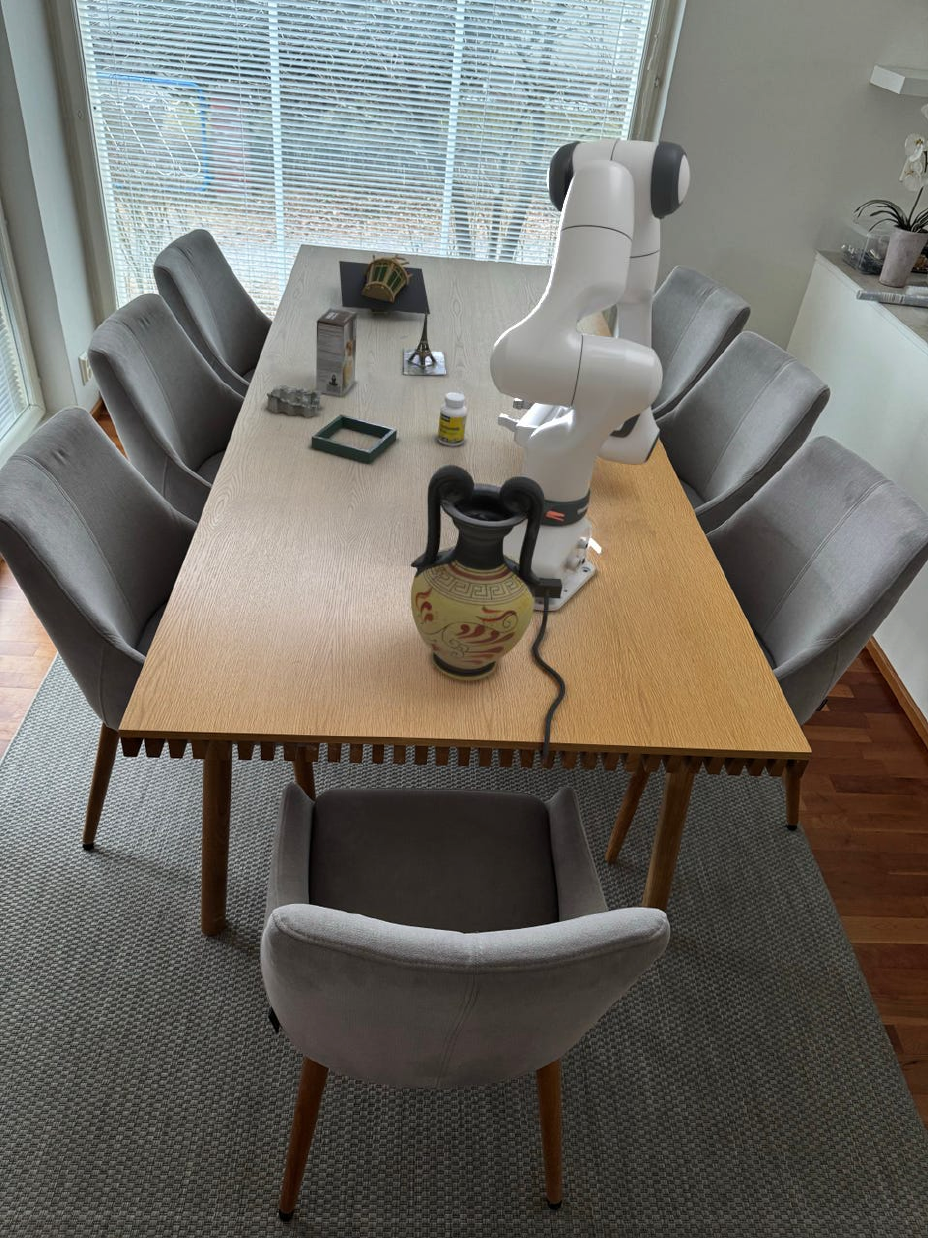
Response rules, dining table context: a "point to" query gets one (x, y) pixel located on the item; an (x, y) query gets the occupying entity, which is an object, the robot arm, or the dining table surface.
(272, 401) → the egg carton
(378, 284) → the lantern
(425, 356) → the eiffel tower figurine
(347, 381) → the coffee box
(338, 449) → the square frame
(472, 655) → the amphora
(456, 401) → the supplement bottle
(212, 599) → the dining table surface
